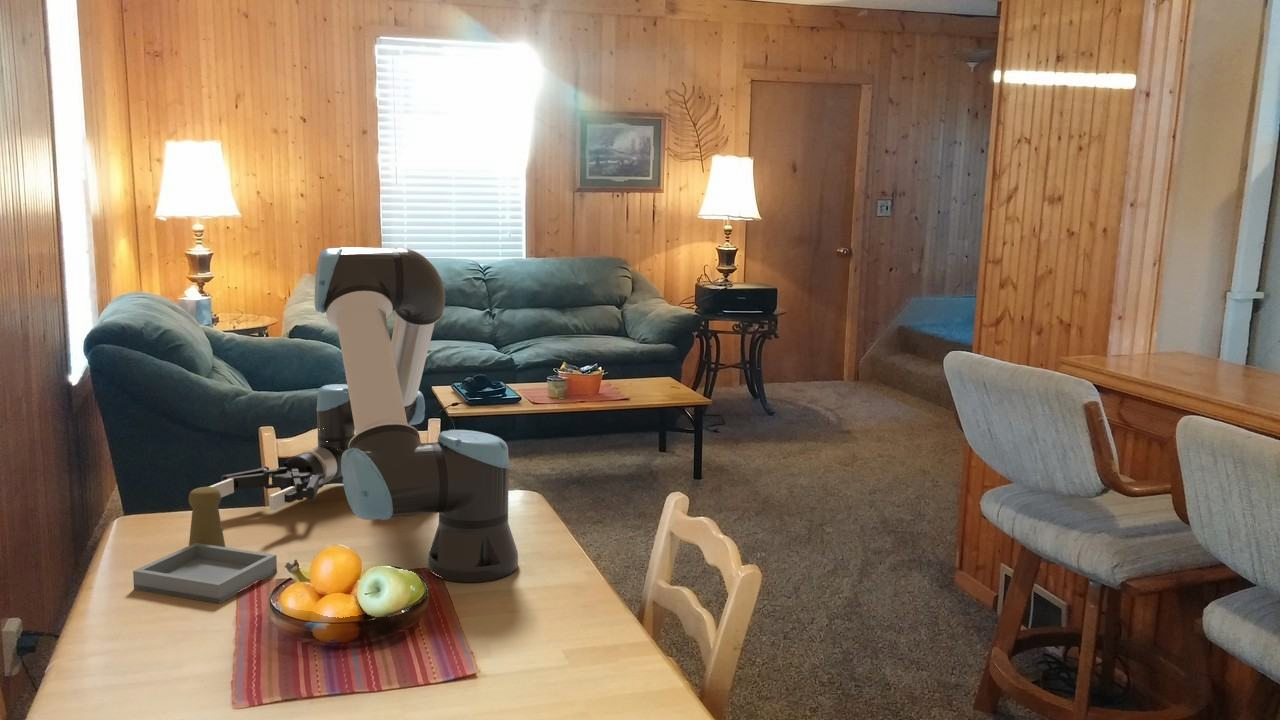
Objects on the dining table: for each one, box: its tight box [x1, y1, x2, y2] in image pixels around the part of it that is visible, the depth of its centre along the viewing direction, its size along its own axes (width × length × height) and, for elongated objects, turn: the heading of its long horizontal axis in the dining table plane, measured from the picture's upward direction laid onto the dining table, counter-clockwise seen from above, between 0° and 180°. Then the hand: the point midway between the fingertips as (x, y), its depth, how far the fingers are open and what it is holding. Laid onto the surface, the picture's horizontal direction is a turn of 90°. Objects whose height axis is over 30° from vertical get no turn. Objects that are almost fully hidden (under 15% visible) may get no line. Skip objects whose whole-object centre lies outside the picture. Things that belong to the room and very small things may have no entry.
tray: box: [132, 543, 278, 604], centre depth 163 cm, size 16×14×3 cm
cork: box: [188, 486, 226, 547], centre depth 177 cm, size 6×6×11 cm
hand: (239, 498), depth 185 cm, fingers open, 13 cm apart
